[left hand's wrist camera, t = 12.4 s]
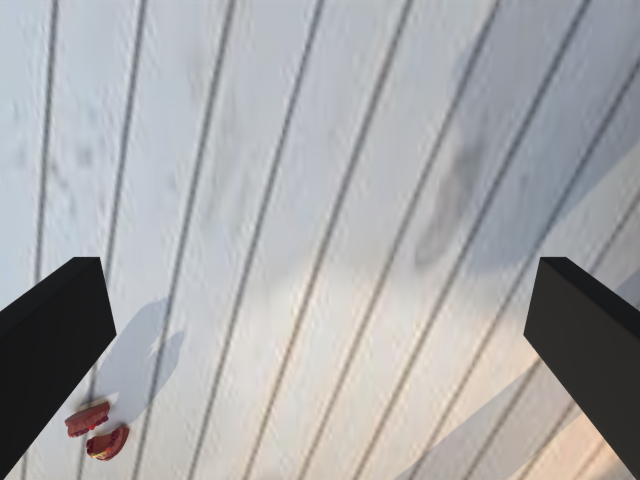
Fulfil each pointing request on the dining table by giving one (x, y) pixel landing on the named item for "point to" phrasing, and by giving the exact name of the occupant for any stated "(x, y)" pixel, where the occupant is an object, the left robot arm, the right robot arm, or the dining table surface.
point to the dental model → (97, 445)
